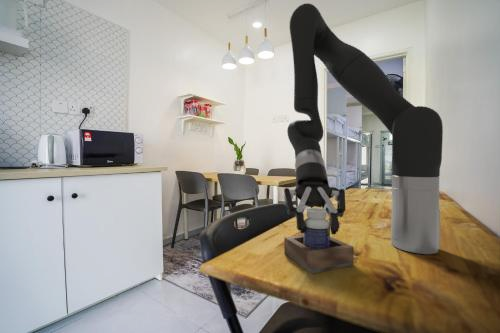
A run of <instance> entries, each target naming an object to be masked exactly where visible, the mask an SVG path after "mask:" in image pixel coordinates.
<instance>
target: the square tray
mask: <svg viewBox="0 0 500 333" xmlns="http://www.w3.org/2000/svg"><path fill="white" fill-rule="evenodd" d="M283 244H284V247H283V248H284V249H283V250H284V251H283V252H284V254H285V255H286V256H287V257H289V258H290V259H292V260H293V261H294V262H296V264H298V265H300V266H301V267H302V268H303V269H305V270H306V271H308V273H310V274H316V273H322V272H325V271H330V270H335V269H339V268H340V269H341V268H346V267H349V266H350V267H351V266H353V265H354V253H355V252H354V249H355V248H354V246H353V245H351V244H349V243H346V242H343V241H341V240H339V239H337V238H334V237H332V236H330V248H325V249H319V250H312V249H310V248H309V247H307V246H305V245H304V234H299V235H293V236H284V242H283Z"/></svg>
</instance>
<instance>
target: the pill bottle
mask: <svg viewBox="0 0 500 333" xmlns="http://www.w3.org/2000/svg"><path fill="white" fill-rule="evenodd" d="M327 215H328V214H327V213H326V210H324V209H322V208H319V207H317V208H316V207H309V208H307V209H306V217H307V218H304V226H305V230H304V233H303V235H304V245H305V246H307V247H309V248H310V249H312V250H319V249H325V248H330V237H331V228H330V222H329V220H327Z"/></svg>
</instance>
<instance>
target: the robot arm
mask: <svg viewBox="0 0 500 333" xmlns="http://www.w3.org/2000/svg"><path fill="white" fill-rule="evenodd" d="M289 19H290V20H289V34H290V41H291V48H292V57H293V58H292V59H293V60H292V61H293V72H294V73H293V76H294V79H293V80H294V85H293V86H294V89H293V108H294V111H295V112H296V113H299V114H304V115H307V116H308V118H309V119H310V120H309V119H303V120H302V119H301V120H300V119H297V120H293V121H291V122H290V123H289V124H288V127H287V138H288V140H289V142H290V144H291V146H292V148H293V149H294V155H295V156H294V157H295V163H294V166H295V167H294V172H295V184H296V187H295V188H294V189H290V188H288V187H285V188H284V189H283V199H284V203H285V207H286V211H287V215H288V216H294V217H295V219H296V229H297V231H300V234H304V230H305V226H304V221H305V216H304V212H305V210H306V208H307V207H308V208H313V207H315V208H316V207H317V208H321V209H324V210H326V213H327V215H328V217H329V219H328V222H329V223H330V235H337V233H338V232H339V228H340V223H339V218H342V217H344V213H345V212H346V191H345V189H343V188H340V189H339V190H333V189H332V188H331V187H330V185H329V179H328V175H327V169H326V164H325V161H324V158H323V154H322V149H321V145H320V142H321V141H322V139H323V137H324V126H323V123H322V120H321V116H320V110H319V102H318V100H319V98H318V97H319V81H318V73H317V67H316V60H315V57H316V58H318V60H320V61H321V63H322V64H323V65H324V67H325V68H326V70H327V71H328V73H329V74H330V75H331V76H332V77H333V78H334V80H335V81H336V82H337V83H338V84H339V85H340V86H341V87H342V88H343V89H344V90H345V91H346V92H348V94H350V96H351V97H353V98H354V99H355V100H356V101H358V102H359V103H360V104H361V105H363V106H364V107H365V108H366V109H368V111H370V112H371V113H373V114H374V116H376V118H378V119H379V120H380V122H381V123H382V124H383V126H384V127H385V128H386V129H387V131H388V132H389V133H390V134H391V135H392V136H391V138H392V142H391V218H390V219H391V220H390V221H391V223H390V225H391V226H390V227H391V229H390V244H391V245H392V246H393V247H395V248H397V249H399V250H402V251H404V252H405V251H406V252H410V253H414V254H419V255H420V254H421V255H434V254H437V253H439V249H440V248H441V247H440V246H441V245H440V244H441V243H440V242H441V238H440V237H441V209H440V175H441V174H440V173H441V165H442V162H443V161H442V158H443V157H442V156H443V139H444V138H443V134H444V133H443V132H444V130H443V129H444V127H443V120H442V117H441V116H440V115H439V112H437V111H436V110H434V109H433V108H431V107H427V106H422V105H421V106H420V105H419V106H414V105H413V104H412V103H411V102H409V100H407V99H406V98H405V97H403V95H401V94H400V93H399V91H398V90H397V89H396V88H395V86H394V85H393V83H392V82H391V81H390V80H391V79H389V77H388V76H387V75H386V73H385V72H384V71H383V70H382V69H381V67H380V66H379V65H378V64H377V63H376V62H375V61H374V60H372V59H371V57H369V56H368V55H367V54H366V53H364V52H363V51H362V50H360V49H359V48H357V47H355V46H354V45H351V44H349V43H346V42H344V41H343V40H341V39H340V38H339V37H338V36H337V35H336V34H335V33H334V32H333V31H332V30H331V28H330V27H329V26H328V24H327V23H326V21H325V19H324V17H323V16H322V14H321V11H319V9H318V8H317V7H316V6H315V5H314V4H312V3H302V4H300V5H299V6H298V7H296V9H295V10H294V11H293V12H292V14H291V16H290V18H289ZM294 196H295V197H296V198H297V199H298V200H299V203H298V206H297V207H295V206H294V202H293V199H294ZM331 197H333V198H334V200H335V202H336V207H335V205H334V204H333V201H332V200H331V199H330V198H331Z"/></svg>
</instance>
